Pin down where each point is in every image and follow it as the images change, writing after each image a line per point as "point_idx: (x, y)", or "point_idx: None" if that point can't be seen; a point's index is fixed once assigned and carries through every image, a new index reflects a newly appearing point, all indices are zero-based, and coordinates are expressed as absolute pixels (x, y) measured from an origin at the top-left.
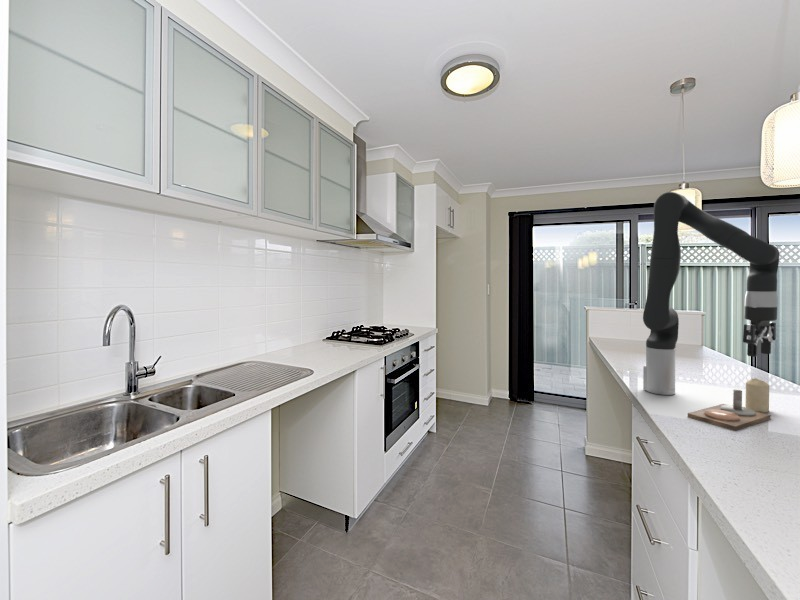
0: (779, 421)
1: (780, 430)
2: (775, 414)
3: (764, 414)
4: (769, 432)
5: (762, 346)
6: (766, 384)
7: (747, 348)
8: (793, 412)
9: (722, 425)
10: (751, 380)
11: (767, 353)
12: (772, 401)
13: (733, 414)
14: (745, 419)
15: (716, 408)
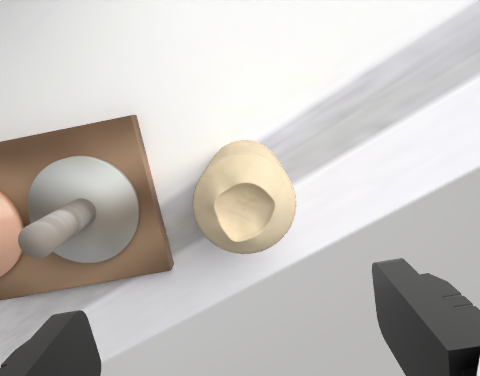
0: (176, 287)
1: None
2: None
3: (153, 260)
4: None
5: (414, 317)
6: (248, 249)
7: (6, 369)
8: (340, 238)
9: None
10: (210, 199)
11: (381, 314)
12: (439, 115)
13: (3, 253)
14: (29, 277)
15: (39, 156)
